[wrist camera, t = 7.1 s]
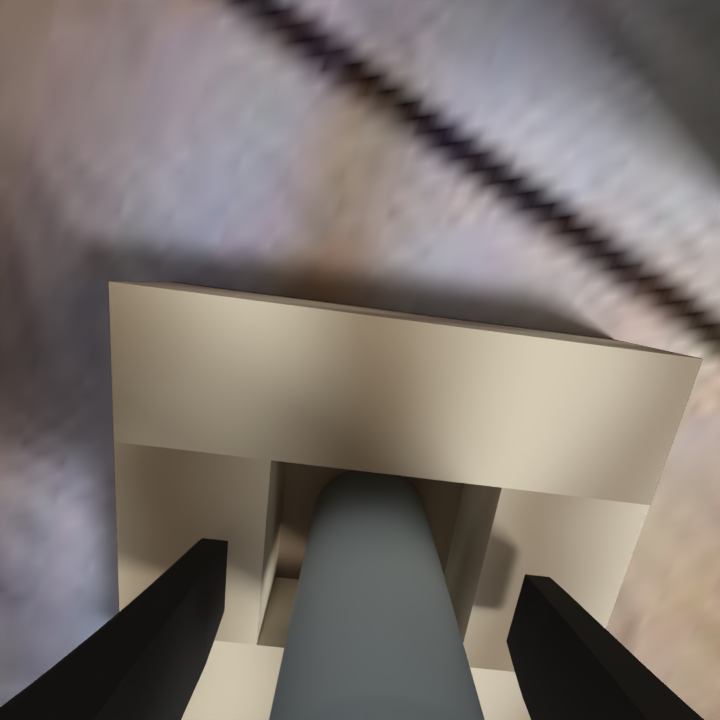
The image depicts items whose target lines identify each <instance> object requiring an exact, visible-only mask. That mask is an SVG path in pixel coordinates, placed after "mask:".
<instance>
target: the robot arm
mask: <svg viewBox="0 0 720 720" xmlns="http://www.w3.org/2000/svg"><path fill="white" fill-rule="evenodd" d="M227 552H228V541H225V540H216V539H207V538H202V539H200V540H199V541H198V542H197V543H195V544H194V545H193V546H192V547H191V548H190V549H189V550H188V551H187V552H186V553H185V554H184V555H182V556H181V557H180V558H179V559H178V560H177V561H176V562H175V563H174V564H173V565H172V566H171V567H169V568H168V569H167V570H166V571H165V572H164V573H163V574H162V575H161V576H160V577H158V578H157V579H156V580H155V581H154V582H153V583H152V584H151V585H150V586H148V587H147V588H146V589H145V590H144V591H143V592H142V593H141V594H139V595H138V596H137V597H136V598H135V599H134V600H132V601H131V602H130V603H129V604H128V605H127V606H126V607H124V608H123V609H122V610H121V611H120V612H119V613H118V614H116V615H115V616H114V617H113V618H112V619H111V620H109V621H108V622H107V623H106V624H105V625H104V626H102V627H101V628H100V629H99V630H98V631H96V632H95V633H94V634H93V635H91V636H90V637H89V638H88V639H87V640H85V641H84V642H83V643H82V644H80V645H79V646H78V647H77V648H75V649H74V650H73V651H72V652H71V653H69V654H68V655H67V656H66V657H64V658H63V659H62V660H61V661H59V662H58V663H57V664H56V665H55V666H53V667H52V668H51V669H50V670H48V671H47V672H46V673H44V674H43V675H42V676H41V677H39V678H38V679H37V680H35V681H34V682H33V683H32V684H30V685H29V686H28V687H26V688H25V689H24V690H23V691H21V692H20V693H19V694H17V695H16V696H15V697H13V698H12V699H11V700H9V701H8V702H7V703H5V704H4V705H3V706H1V707H0V720H181V719H182V717H183V714H184V712H185V710H186V708H187V706H188V703H189V701H190V699H191V697H192V694H193V692H194V690H195V688H196V685H197V683H198V681H199V679H200V676H201V674H202V672H203V670H204V667H205V665H206V662H207V660H208V657H209V654H210V651H211V648H212V646H213V643H214V640H215V637H216V634H217V631H218V628H219V625H220V622H221V620H222V617H223V614H224V611H225V591H226V571H227ZM506 642H507V646H508V649H509V653H510V656H511V660H512V664H513V667H514V671H515V674H516V677H517V681H518V684H519V687H520V691H521V694H522V697H523V700H524V703H525V705H526V708H527V710H528V713H529V716H530V718H531V720H704V719H703V718H701V717H700V716H699V715H698V714H697V713H696V712H695V711H693V710H692V709H691V708H690V707H689V706H688V705H687V704H686V703H685V702H683V701H682V700H681V699H680V698H679V697H678V696H677V695H676V694H675V693H674V692H672V691H671V690H670V689H669V688H668V687H667V686H666V685H665V684H664V683H663V682H661V681H660V680H659V679H658V678H657V677H656V676H655V675H654V674H653V673H652V672H651V671H650V670H648V669H647V668H646V667H645V666H644V665H643V664H642V663H641V662H640V661H639V660H638V659H637V658H636V657H635V656H633V655H632V654H631V653H630V652H629V651H628V650H627V649H626V648H625V647H624V646H623V645H622V644H621V643H620V642H619V641H618V640H617V639H615V638H614V637H613V636H612V635H611V634H610V633H609V632H608V631H607V630H606V629H605V628H604V627H603V626H602V625H601V624H600V623H599V622H598V621H597V620H596V619H594V618H593V617H592V616H591V615H590V614H589V613H588V612H587V611H586V610H585V609H584V608H583V607H582V606H581V605H580V604H579V603H578V602H577V601H576V600H574V599H573V598H572V597H571V596H570V595H569V594H568V593H567V592H566V591H565V590H564V589H563V588H562V587H560V586H559V585H558V584H557V583H556V582H555V581H554V580H553V579H551V578H550V577H545V576H536V575H527V574H525V576H524V580H523V583H522V587H521V590H520V594H519V598H518V601H517V605H516V608H515V612H514V615H513V619H512V622H511V626H510V629H509V633H508V636H507V640H506Z"/></svg>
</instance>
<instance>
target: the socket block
mask: <svg viewBox="0 0 720 720" xmlns="http://www.w3.org/2000/svg"><path fill="white" fill-rule="evenodd" d="M109 309H110V340H111V370H112V401H113V432H114V462H115V493H116V523H117V554H118V585H119V612H120V611H121V610H122V609H123V608H124V607H126V606H127V605H128V604H129V603H130V602H131V601H132V600H134V599H135V598H136V597H137V596H138V595H139V594H141V593H142V592H143V591H144V590H145V589H146V588H147V587H148V586H150V585H151V584H152V583H153V582H154V581H155V580H156V579H157V578H158V577H160V576H161V575H162V574H163V573H164V572H165V571H166V570H167V569H168V568H169V567H171V566H172V565H173V564H174V563H175V562H176V561H177V560H178V559H179V558H180V557H181V556H182V555H184V554H185V553H186V552H187V551H188V550H189V549H190V548H191V547H192V546H193V545H194V544H195V543H197V542H198V541H199V540H200V539H202V538H207V539H216V540H225V541H228V552H227V571H226V591H225V611H224V614H223V617H222V620H221V622H220V625H219V628H218V631H217V634H216V637H215V640H214V643H213V646H212V648H211V651H210V654H209V657H208V660H207V662H206V665H205V667H204V670H203V672H202V674H201V676H200V679H199V681H198V683H197V685H196V688H195V690H194V692H193V694H192V697H191V699H190V701H189V703H188V706H187V708H186V710H185V712H184V714H183V717H182V719H181V720H269V717H270V713H271V708H272V703H273V699H274V694H275V689H276V684H277V680H278V675H279V670H280V666H281V661H282V656H283V652H284V647H285V642H286V638H287V633H288V628H289V623H290V619H291V614H292V609H293V605H294V600H295V595H296V591H297V586H298V581H299V577H300V572H301V567H302V562H303V558H304V553H305V548H306V544H307V539H308V534H309V530H310V525H311V520H312V516H313V511H314V506H315V503H316V500H317V498H318V496H319V494H320V492H321V491H322V489H323V488H324V487H325V486H326V484H327V483H328V482H330V481H331V480H332V479H333V478H335V477H336V476H338V475H339V474H341V473H343V472H346V471H348V470H357V471H366V472H374V473H382V474H391V475H399V476H403V477H404V478H406V479H407V480H408V481H409V482H410V483H411V484H412V485H413V486H414V487H415V488H416V489H417V491H418V492H419V494H420V496H421V498H422V501H423V503H424V507H425V510H426V514H427V518H428V521H429V525H430V528H431V532H432V535H433V539H434V542H435V546H436V549H437V553H438V556H439V560H440V563H441V567H442V571H443V574H444V578H445V581H446V585H447V588H448V592H449V595H450V599H451V602H452V606H453V609H454V613H455V616H456V620H457V623H458V627H459V631H460V634H461V638H462V641H463V645H464V648H465V652H466V655H467V659H468V662H469V666H470V669H471V673H472V676H473V680H474V684H475V687H476V691H477V694H478V698H479V701H480V705H481V708H482V712H483V715H484V719H485V720H531V718H530V716H529V713H528V710H527V708H526V705H525V703H524V700H523V697H522V694H521V691H520V687H519V684H518V681H517V677H516V674H515V671H514V667H513V664H512V660H511V656H510V653H509V649H508V646H507V642H506V640H507V636H508V633H509V629H510V626H511V622H512V619H513V615H514V612H515V608H516V605H517V601H518V598H519V594H520V590H521V587H522V583H523V580H524V576H525V574H527V575H536V576H545V577H550V578H551V579H553V580H554V581H555V582H556V583H557V584H558V585H559V586H560V587H562V588H563V589H564V590H565V591H566V592H567V593H568V594H569V595H570V596H571V597H572V598H573V599H574V600H576V601H577V602H578V603H579V604H580V605H581V606H582V607H583V608H584V609H585V610H586V611H587V612H588V613H589V614H590V615H591V616H592V617H593V618H594V619H596V620H597V621H598V622H599V623H600V624H601V625H602V626H603V627H604V628H605V629H606V627H607V624H608V621H609V619H610V616H611V613H612V610H613V607H614V605H615V602H616V599H617V596H618V594H619V591H620V588H621V585H622V582H623V580H624V577H625V574H626V571H627V569H628V566H629V563H630V560H631V557H632V555H633V552H634V549H635V546H636V544H637V541H638V538H639V535H640V532H641V530H642V527H643V524H644V521H645V519H646V516H647V513H648V510H649V507H650V505H651V502H652V499H653V496H654V494H655V491H656V488H657V485H658V482H659V480H660V477H661V474H662V471H663V469H664V466H665V463H666V460H667V457H668V455H669V452H670V449H671V446H672V444H673V441H674V438H675V435H676V432H677V430H678V427H679V424H680V421H681V419H682V416H683V413H684V410H685V407H686V405H687V402H688V399H689V396H690V394H691V391H692V388H693V385H694V382H695V380H696V377H697V374H698V371H699V369H700V366H701V363H702V360H703V359H701V358H697V357H692V356H688V355H683V354H678V353H674V352H669V351H665V350H660V349H656V348H651V347H646V346H642V345H637V344H633V343H628V342H623V341H619V340H613V339H605V338H598V337H590V336H582V335H575V334H567V333H560V332H552V331H544V330H537V329H529V328H521V327H514V326H506V325H498V324H491V323H483V322H475V321H468V320H460V319H453V318H445V317H437V316H430V315H422V314H414V313H407V312H399V311H391V310H384V309H376V308H368V307H361V306H353V305H346V304H338V303H330V302H323V301H315V300H307V299H300V298H292V297H284V296H277V295H269V294H262V293H254V292H246V291H239V290H231V289H223V288H216V287H208V286H200V285H193V284H185V283H177V282H114V281H109Z"/></svg>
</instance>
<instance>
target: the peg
mask: <svg viewBox="0 0 720 720" xmlns="http://www.w3.org/2000/svg"><path fill="white" fill-rule="evenodd" d="M269 720H485V719H484V715H483V712H482V708H481V705H480V701H479V698H478V694H477V691H476V687H475V684H474V680H473V676H472V673H471V669H470V666H469V662H468V659H467V655H466V652H465V648H464V645H463V641H462V638H461V634H460V631H459V627H458V623H457V620H456V616H455V613H454V609H453V606H452V602H451V599H450V595H449V592H448V588H447V585H446V581H445V578H444V574H443V571H442V567H441V563H440V560H439V556H438V553H437V549H436V546H435V542H434V539H433V535H432V532H431V528H430V525H429V521H428V518H427V514H426V510H425V507H424V503H423V501H422V498H421V496H420V494H419V492H418V491H417V489H416V488H415V487H414V486H413V485H412V484H411V483H410V482H409V481H408V480H407V479H406V478H404V477H403V476H399V475H391V474H382V473H374V472H366V471H357V470H348V471H346V472H343V473H341V474H339V475H338V476H336V477H335V478H333V479H332V480H331V481H330V482H328V483H327V484H326V486H325V487H324V488H323V489H322V491H321V492H320V494H319V496H318V498H317V500H316V503H315V506H314V511H313V516H312V520H311V525H310V530H309V534H308V539H307V544H306V548H305V553H304V558H303V562H302V567H301V572H300V577H299V581H298V586H297V591H296V595H295V600H294V605H293V609H292V614H291V619H290V623H289V628H288V633H287V638H286V642H285V647H284V652H283V656H282V661H281V666H280V670H279V675H278V680H277V684H276V689H275V694H274V699H273V703H272V708H271V713H270V717H269Z"/></svg>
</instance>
